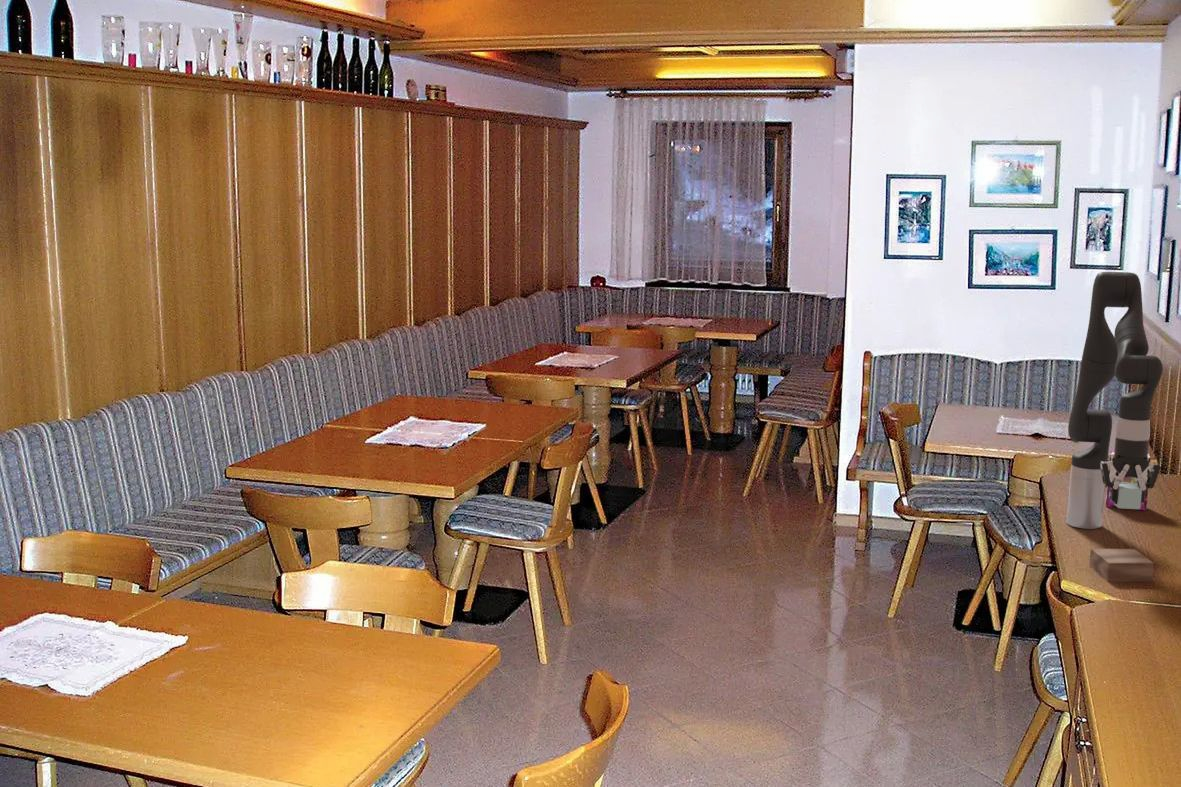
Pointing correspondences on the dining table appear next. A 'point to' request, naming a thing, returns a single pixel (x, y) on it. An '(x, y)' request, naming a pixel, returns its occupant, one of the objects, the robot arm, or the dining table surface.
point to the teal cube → (1129, 496)
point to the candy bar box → (1126, 481)
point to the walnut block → (1121, 565)
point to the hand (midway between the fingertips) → (1126, 503)
